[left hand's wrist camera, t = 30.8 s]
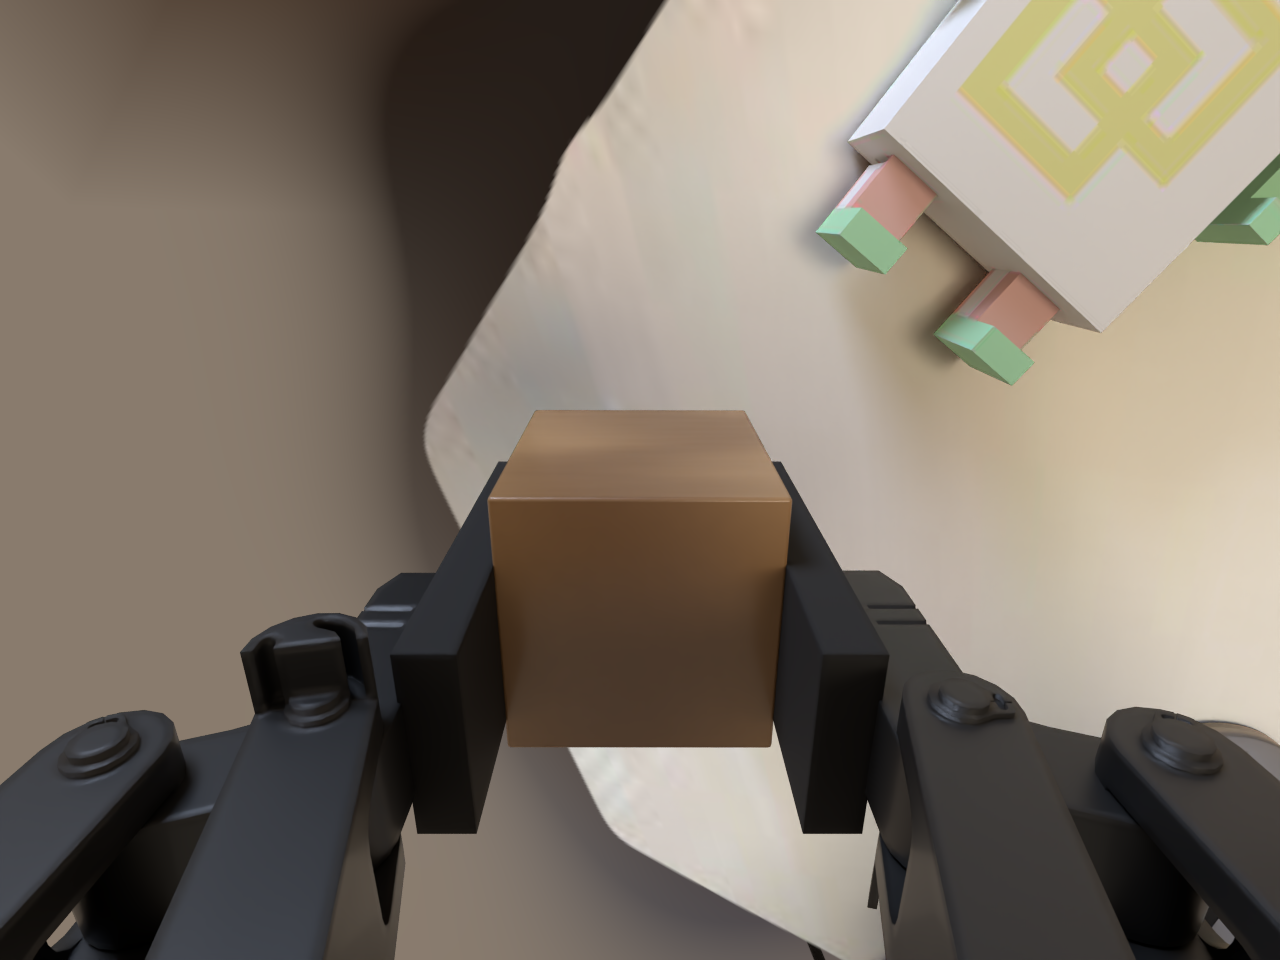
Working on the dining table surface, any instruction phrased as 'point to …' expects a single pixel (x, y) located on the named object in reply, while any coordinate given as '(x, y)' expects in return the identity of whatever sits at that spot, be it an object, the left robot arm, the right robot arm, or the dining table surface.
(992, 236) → the decorative block
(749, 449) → the block
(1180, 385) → the dining table surface
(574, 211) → the dining table surface
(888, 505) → the dining table surface
